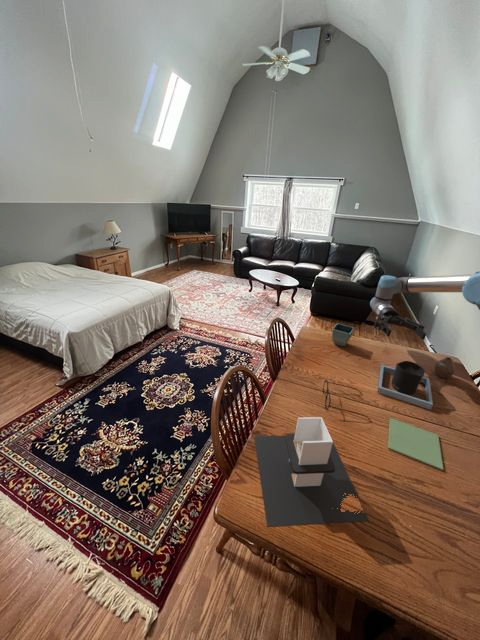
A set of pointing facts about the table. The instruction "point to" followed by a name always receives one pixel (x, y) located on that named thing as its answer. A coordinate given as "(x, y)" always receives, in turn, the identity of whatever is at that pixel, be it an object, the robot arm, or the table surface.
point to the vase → (445, 368)
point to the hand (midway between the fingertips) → (406, 335)
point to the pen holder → (407, 377)
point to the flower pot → (341, 334)
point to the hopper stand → (304, 477)
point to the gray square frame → (404, 397)
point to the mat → (415, 443)
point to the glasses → (330, 398)
